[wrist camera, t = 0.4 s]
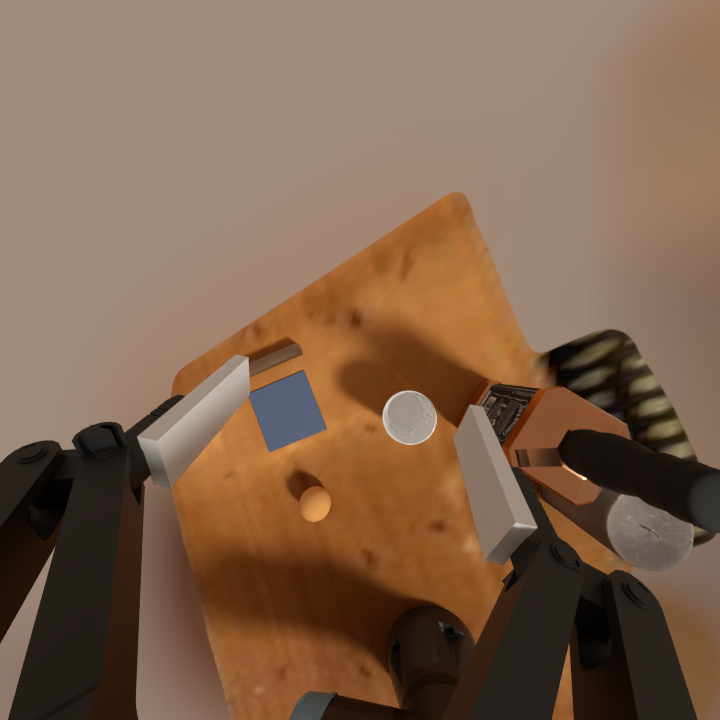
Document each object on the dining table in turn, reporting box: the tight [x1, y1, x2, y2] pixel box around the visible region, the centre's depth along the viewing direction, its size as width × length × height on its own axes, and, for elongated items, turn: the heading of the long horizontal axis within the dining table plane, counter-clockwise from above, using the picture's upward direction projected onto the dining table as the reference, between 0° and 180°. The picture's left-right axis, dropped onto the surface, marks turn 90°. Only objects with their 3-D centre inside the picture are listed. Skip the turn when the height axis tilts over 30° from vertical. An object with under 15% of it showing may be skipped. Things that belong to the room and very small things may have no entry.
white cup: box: [382, 390, 437, 445], centre depth 43 cm, size 8×8×10 cm
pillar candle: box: [540, 484, 694, 572], centre depth 37 cm, size 10×10×15 cm
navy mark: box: [249, 370, 327, 452], centre depth 50 cm, size 12×12×1 cm
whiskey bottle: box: [456, 380, 720, 533], centre depth 31 cm, size 10×10×32 cm
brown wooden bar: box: [249, 343, 303, 377], centre depth 50 cm, size 2×14×2 cm, turn 112°
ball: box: [299, 486, 331, 522], centre depth 46 cm, size 6×6×6 cm
